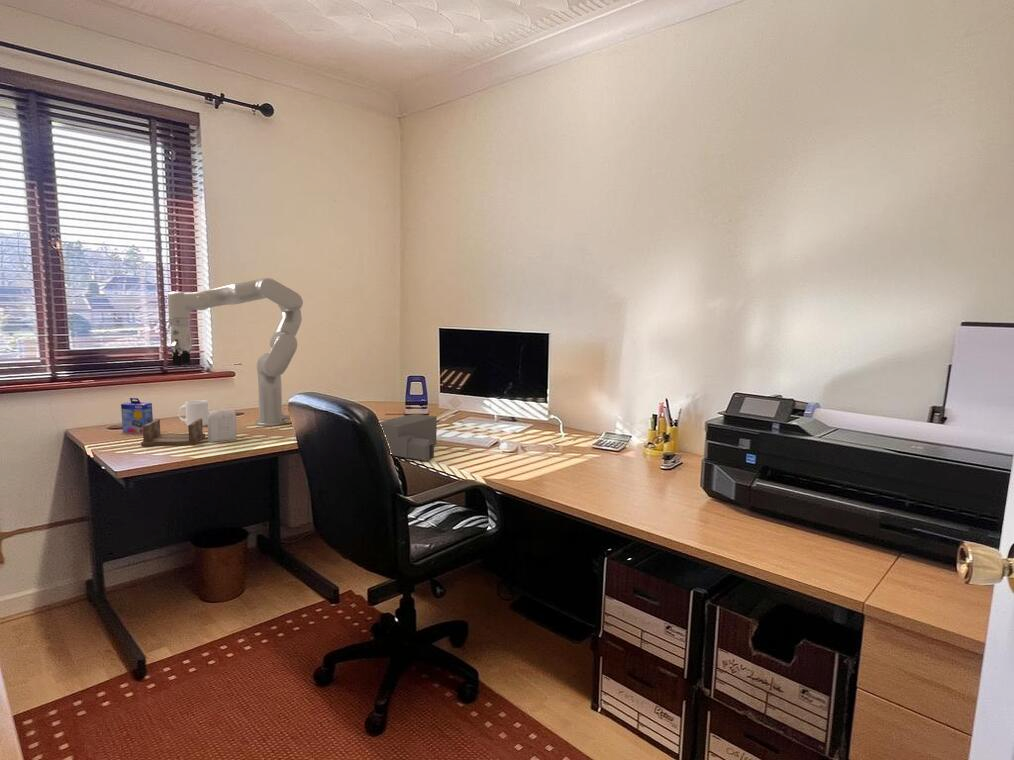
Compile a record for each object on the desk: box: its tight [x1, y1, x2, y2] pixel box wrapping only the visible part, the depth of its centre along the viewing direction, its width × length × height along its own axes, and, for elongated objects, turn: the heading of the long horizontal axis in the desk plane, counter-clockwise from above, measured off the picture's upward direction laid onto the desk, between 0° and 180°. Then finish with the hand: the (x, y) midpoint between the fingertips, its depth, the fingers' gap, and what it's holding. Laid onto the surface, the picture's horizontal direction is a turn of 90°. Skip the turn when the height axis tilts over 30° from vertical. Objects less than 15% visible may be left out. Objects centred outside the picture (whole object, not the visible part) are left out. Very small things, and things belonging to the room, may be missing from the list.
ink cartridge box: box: [120, 397, 154, 434], centre depth 233 cm, size 10×6×14 cm, turn 87°
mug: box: [177, 399, 209, 427], centre depth 249 cm, size 9×12×11 cm
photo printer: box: [207, 408, 237, 443], centre depth 224 cm, size 10×4×12 cm, turn 134°
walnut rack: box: [140, 418, 206, 447], centre depth 220 cm, size 14×18×8 cm
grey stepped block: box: [379, 413, 438, 461], centre depth 218 cm, size 25×23×11 cm
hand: (181, 364), depth 234 cm, fingers open, 9 cm apart
